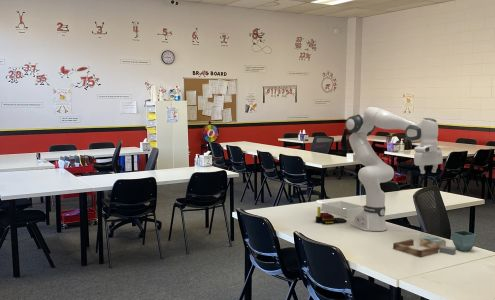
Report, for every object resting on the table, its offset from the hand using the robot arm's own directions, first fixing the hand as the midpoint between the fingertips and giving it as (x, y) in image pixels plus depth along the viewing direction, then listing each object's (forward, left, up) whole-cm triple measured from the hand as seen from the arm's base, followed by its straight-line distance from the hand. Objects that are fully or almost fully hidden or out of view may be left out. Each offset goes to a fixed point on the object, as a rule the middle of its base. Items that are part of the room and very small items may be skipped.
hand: (428, 173), depth 264 cm
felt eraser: (+18, -7, -39) cm, 44 cm away
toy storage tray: (-77, +12, -39) cm, 87 cm away
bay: (+7, -17, -39) cm, 43 cm away
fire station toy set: (-61, -14, -39) cm, 74 cm away
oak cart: (+7, -4, -39) cm, 40 cm away
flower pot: (+19, +5, -39) cm, 44 cm away
